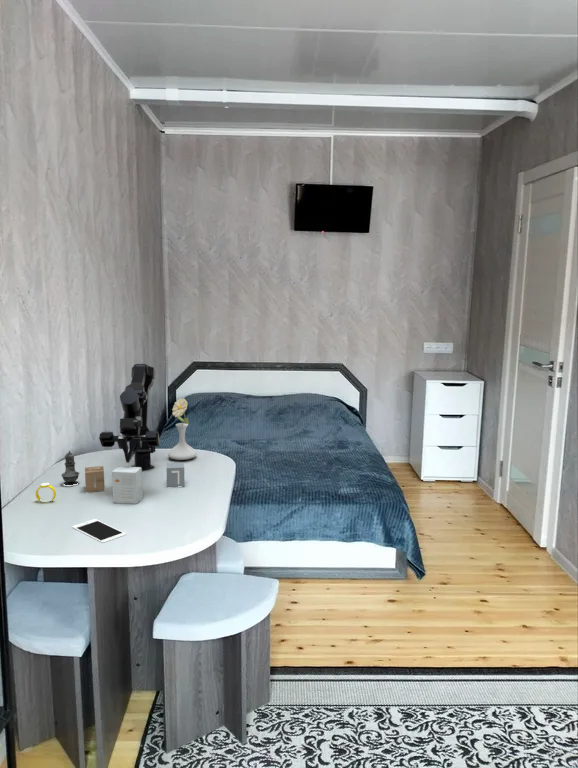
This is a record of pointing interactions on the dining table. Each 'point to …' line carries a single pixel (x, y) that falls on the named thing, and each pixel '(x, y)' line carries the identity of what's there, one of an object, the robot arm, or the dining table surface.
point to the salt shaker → (70, 470)
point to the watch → (45, 487)
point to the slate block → (175, 474)
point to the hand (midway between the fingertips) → (127, 462)
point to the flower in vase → (181, 434)
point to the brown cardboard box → (94, 479)
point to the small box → (127, 484)
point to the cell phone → (99, 530)
